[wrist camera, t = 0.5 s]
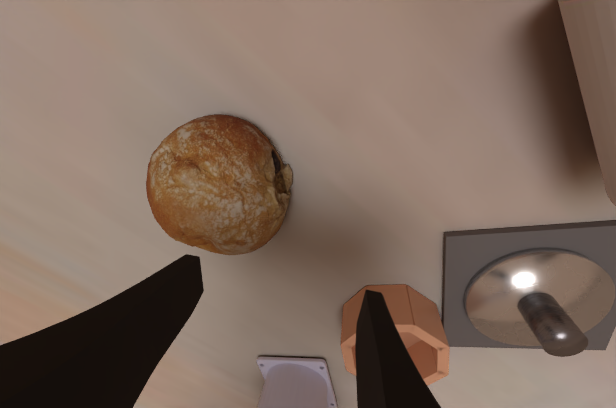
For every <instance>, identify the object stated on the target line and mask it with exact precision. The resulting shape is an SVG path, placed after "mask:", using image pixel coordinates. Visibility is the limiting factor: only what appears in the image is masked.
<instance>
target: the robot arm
mask: <svg viewBox="0 0 616 408" xmlns="http://www.w3.org/2000/svg"><path fill="white" fill-rule="evenodd" d="M203 291H204V290H203V282H202V273H201V265H200V257H198V256H192V255H187V254H186V255H184V256H183V257H181V258H179V259H178V260H176V261H174V262H173V263H171V264H169V265H168V266H166V267H164V268H163V269H161V270H160V271H158V272H156V273H155V274H153V275H151V276H150V277H148V278H146V279H145V280H143V281H141V282H140V283H138V284H136V285H134V286H132V287H131V288H129V289H127V290H125V291H123V292H122V293H120V294H118V295H116V296H114V297H113V298H111V299H109V300H107V301H105V302H103V303H101V304H99V305H97V306H95V307H93V308H91V309H89V310H87V311H84V312H82V313H80V314H78V315H76V316H74V317H71V318H69V319H67V320H64V321H62V322H60V323H57V324H55V325H52V326H50V327H48V328H45V329H43V330H40V331H38V332H35V333H33V334H30V335H28V336H25V337H22V338H20V339H17V340H14V341H12V342H9V343H6V344H3V345H0V408H133V406H134V404H135V402H136V401H137V399H138V397H139V395H140V393H141V392H142V390H143V388H144V386H145V385H146V383H147V381H148V379H149V377H150V376H151V374H152V372H153V371H154V369H155V368H156V366H157V364H158V363H159V361H160V360H161V358H162V357H163V355H164V354H165V353H166V351H167V350H168V348H169V347H170V345H171V344H172V342H173V341H174V339H175V338H176V336H177V335H178V334H179V332H180V331H181V329H182V328H183V326H184V325H185V323H186V322H187V320H188V319H189V317H190V316H191V314H192V313H193V311H194V309H195V307H196V305H197V303H198V301H199V299H200V297H201V295H202V293H203ZM355 358H356V380H357V401H358V408H441V407H440V405H439V404H438V402H437V401H436V399H435V398H434V396H433V395H432V393H431V391H430V390H429V388H428V387H427V385H426V383H425V382H424V380H423V378H422V376H421V375H420V373H419V371H418V369H417V368H416V366H415V364H414V362H413V360H412V358H411V357H410V355H409V353H408V351H407V349H406V347H405V345H404V343H403V341H402V339H401V337H400V335H399V333H398V330H397V328H396V326H395V324H394V322H393V319H392V317H391V315H390V312H389V310H388V307H387V305H386V302H385V299H384V297H383V294H382V293H381V292H376V291H371V290H366V291H365V294H364V298H363V302H362V305H361V309H360V313H359V316H358V320H357V325H356V342H355ZM257 364H258V366H259V368H260V371H261V373H262V375H263V377H264V380H265V382H264V385H263V389H262V392H261V395H260V399H259V402H258V406H257V408H338V405H337V402H336V398H335V394H334V390H333V387H332V383H331V379H330V375H329V372H328V368H327V364H326V361H325V360H323V359H313V358H286V357H258V358H257Z"/></svg>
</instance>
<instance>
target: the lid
mask: <svg viewBox="0 0 616 408" xmlns="http://www.w3.org/2000/svg"><path fill="white" fill-rule="evenodd" d="M614 299H615V286H614V283H613V281H612V279H611V277H610V276H609V275H608V273H607V272H606V271H605V270H603V269H602V268H601V267H600V266H599V265H598V264H597V263H595V262H594V261H593V260H591V259H590V258H588V257H587V256H585V255H583V254H580V253H578V252H575V251H572V250H567V249H562V248H552V247H540V248H530V249H525V250H520V251H516V252H512V253H509V254H507V255H504V256H501V257H499V258H497V259H495V260H493V261H492V262H490V263H488V264H487V265H485V266H484V267H483V268H481V269H480V270H479V271H478V272H477V273H476V274H475V275H474V276H473V277H472V278H471V280H470V281H469V283H468V285H467V286H466V289H465V292H464V306H465V310H466V312H467V314H468V317H469V319H470V321H471V323H472V324H473V325H474V327H475V328H476V329H477V330H478V331H480V332H481V333H482V334H484V335H485V336H487V337H489V338H491V339H493V340H496V341H499V342H502V343H506V344H511V345H518V346H540V345H541V346H542V348H543V349H544V350H545V352H547V353H548V354H551V355H554V356H561V357H564V356H572V355H575V354H578V353H580V352H582V351H583V350H585V349H586V347H587V346H588V339H587V337H586V336H585V335H584V334H583V333H585V332H587V331H588V330H590V329H591V328H593V327H594V326H596V325H597V324H598V323H599V322H600V321H601V320H602V319H603V318H604V317H605V316H606V315H607V314H608V312H609V311H610V309H611V307H612V305H613V303H614Z"/></svg>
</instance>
